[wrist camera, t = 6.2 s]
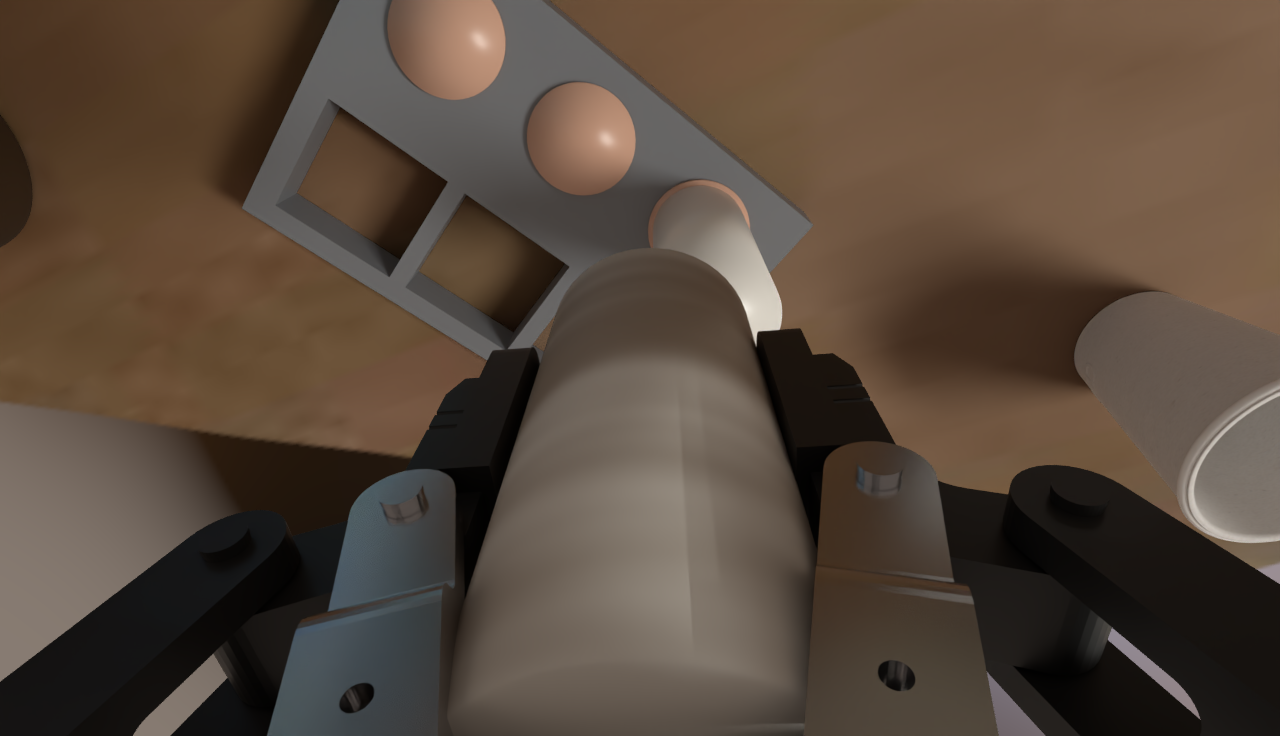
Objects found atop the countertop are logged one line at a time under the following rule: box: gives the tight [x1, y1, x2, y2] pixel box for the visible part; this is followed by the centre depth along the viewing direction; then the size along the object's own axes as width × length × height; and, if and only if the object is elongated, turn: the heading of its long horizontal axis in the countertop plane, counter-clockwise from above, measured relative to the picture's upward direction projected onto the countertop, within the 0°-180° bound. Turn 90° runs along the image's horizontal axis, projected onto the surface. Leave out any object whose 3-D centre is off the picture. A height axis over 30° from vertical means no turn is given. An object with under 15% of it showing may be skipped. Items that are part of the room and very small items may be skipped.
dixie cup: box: [1074, 291, 1280, 543], centre depth 29 cm, size 8×8×10 cm
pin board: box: [242, 0, 813, 363], centre depth 26 cm, size 20×14×11 cm
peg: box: [447, 248, 818, 736], centre depth 10 cm, size 4×4×9 cm
